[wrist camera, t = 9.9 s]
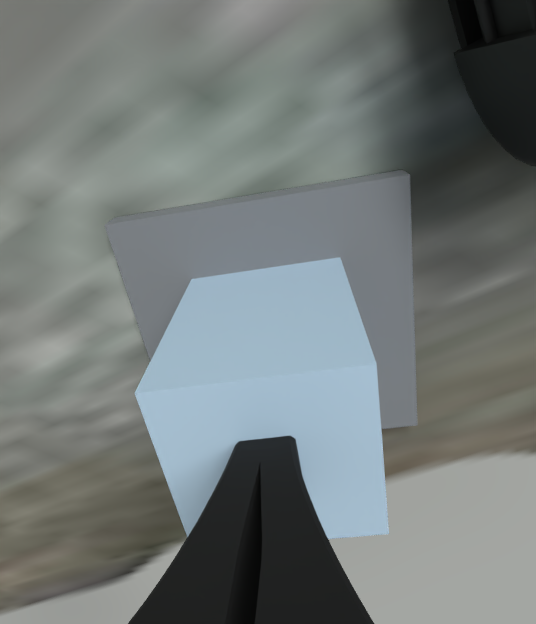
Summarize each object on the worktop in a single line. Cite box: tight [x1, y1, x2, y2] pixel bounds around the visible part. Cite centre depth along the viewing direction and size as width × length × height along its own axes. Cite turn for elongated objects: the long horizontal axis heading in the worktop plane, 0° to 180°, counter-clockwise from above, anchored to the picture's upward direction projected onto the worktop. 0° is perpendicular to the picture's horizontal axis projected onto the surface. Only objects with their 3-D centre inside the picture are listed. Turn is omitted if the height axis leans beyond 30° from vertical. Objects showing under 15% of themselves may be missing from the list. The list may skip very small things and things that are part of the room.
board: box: [105, 170, 417, 429], centre depth 17 cm, size 10×10×1 cm
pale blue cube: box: [135, 257, 389, 539], centre depth 13 cm, size 5×5×7 cm
